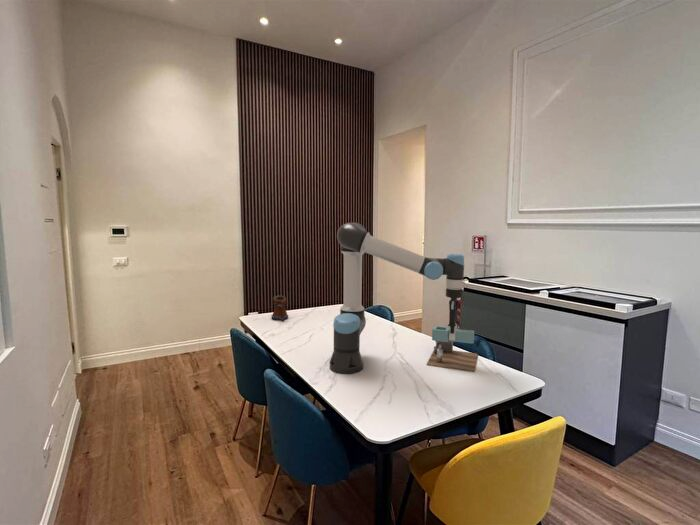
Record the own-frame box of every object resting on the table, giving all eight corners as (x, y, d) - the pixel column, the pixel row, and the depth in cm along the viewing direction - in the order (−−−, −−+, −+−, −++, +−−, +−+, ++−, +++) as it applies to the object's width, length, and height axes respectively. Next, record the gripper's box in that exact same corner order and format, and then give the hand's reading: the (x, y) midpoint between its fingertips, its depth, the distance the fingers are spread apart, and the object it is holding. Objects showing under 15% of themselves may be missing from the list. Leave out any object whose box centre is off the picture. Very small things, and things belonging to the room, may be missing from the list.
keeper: (450, 356, 186) (451, 342, 185) (433, 353, 189) (434, 340, 188) (452, 350, 194) (453, 337, 193) (436, 348, 197) (436, 335, 196)
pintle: (441, 364, 177) (442, 346, 176) (436, 363, 178) (436, 345, 177) (442, 362, 179) (442, 344, 178) (437, 361, 180) (437, 344, 179)
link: (432, 340, 175) (432, 329, 174) (434, 336, 181) (434, 325, 181) (473, 344, 168) (473, 333, 168) (474, 340, 175) (474, 329, 174)
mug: (293, 322, 247) (292, 299, 245) (275, 323, 242) (275, 300, 241) (286, 315, 263) (286, 294, 262) (269, 317, 259) (269, 295, 257)
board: (474, 372, 168) (474, 370, 168) (426, 365, 175) (426, 363, 175) (477, 354, 190) (477, 353, 190) (434, 349, 198) (435, 348, 198)
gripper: (461, 292, 163) (459, 345, 166) (464, 286, 179) (462, 334, 181) (443, 290, 166) (441, 342, 169) (448, 284, 181) (446, 332, 184)
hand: (452, 338), depth 175 cm, fingers closed on link, 3 cm apart
